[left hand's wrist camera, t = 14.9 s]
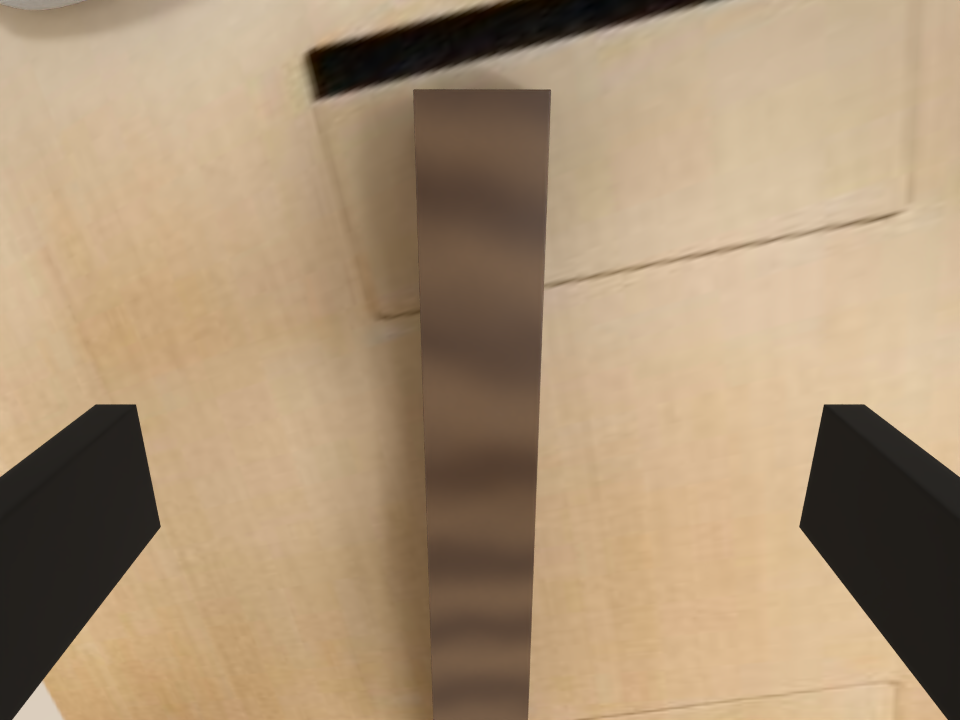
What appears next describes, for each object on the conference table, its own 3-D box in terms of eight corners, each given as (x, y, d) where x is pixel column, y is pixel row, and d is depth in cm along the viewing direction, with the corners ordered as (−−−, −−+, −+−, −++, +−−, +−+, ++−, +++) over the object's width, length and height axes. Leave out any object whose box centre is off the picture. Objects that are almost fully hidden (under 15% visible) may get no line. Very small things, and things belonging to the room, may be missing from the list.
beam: (427, 93, 36) (413, 89, 28) (536, 94, 36) (551, 89, 28) (442, 728, 53) (436, 831, 45) (517, 728, 53) (523, 831, 45)
